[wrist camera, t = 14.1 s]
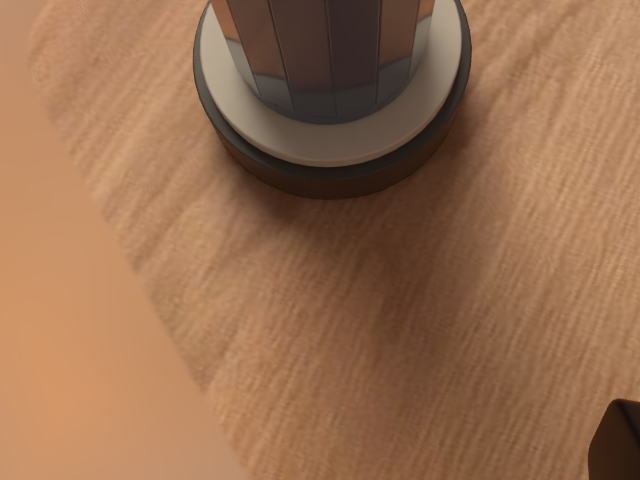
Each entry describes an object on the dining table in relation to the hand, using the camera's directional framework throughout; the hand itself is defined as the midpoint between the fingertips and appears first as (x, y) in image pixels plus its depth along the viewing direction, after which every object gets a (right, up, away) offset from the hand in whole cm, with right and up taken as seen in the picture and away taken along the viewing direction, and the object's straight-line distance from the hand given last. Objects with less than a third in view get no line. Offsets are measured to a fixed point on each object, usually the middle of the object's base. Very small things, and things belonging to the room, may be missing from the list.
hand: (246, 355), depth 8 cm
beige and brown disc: (+1, +7, +14) cm, 15 cm away
